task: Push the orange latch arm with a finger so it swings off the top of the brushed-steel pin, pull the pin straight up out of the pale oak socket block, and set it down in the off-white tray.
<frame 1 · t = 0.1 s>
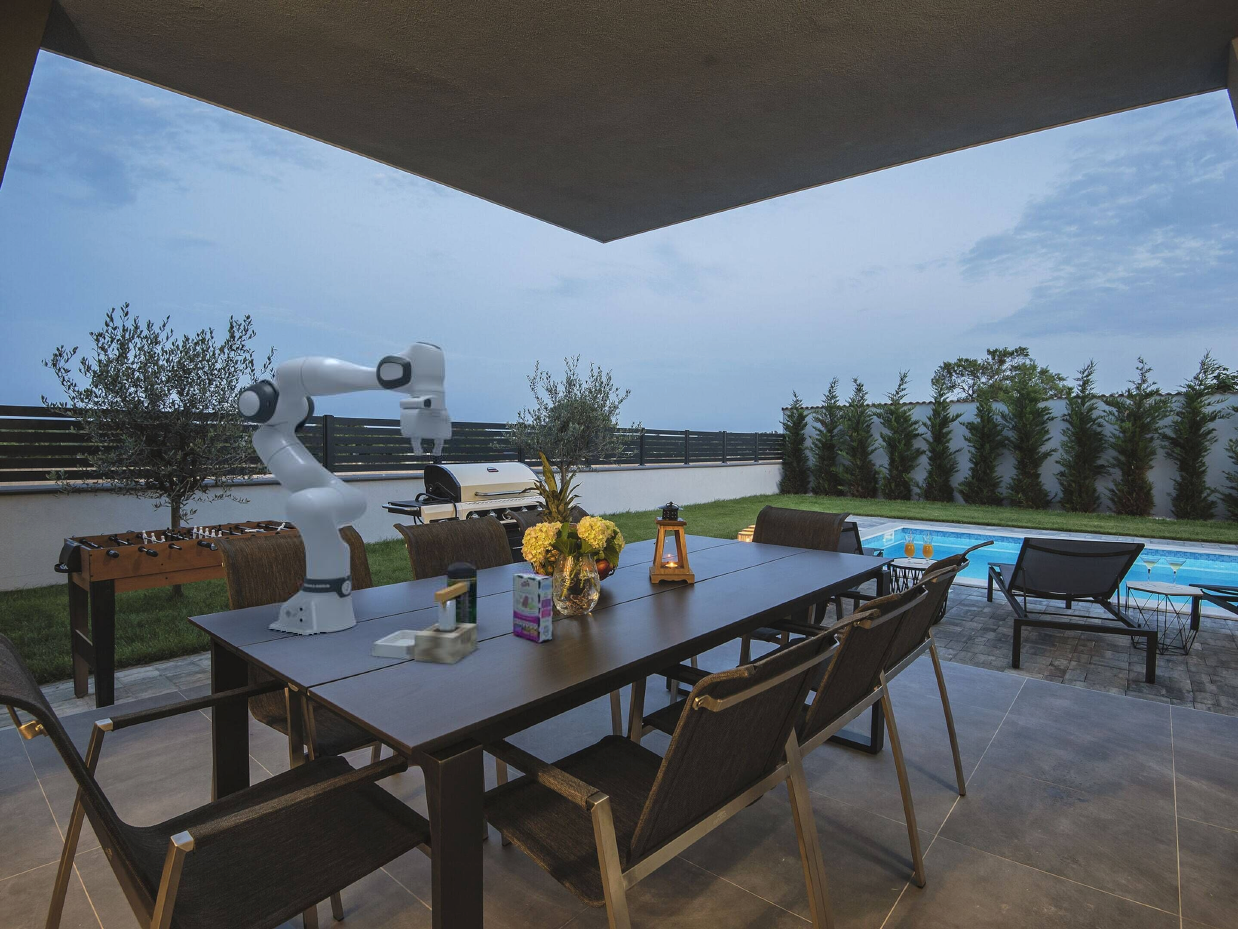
hand: (427, 455, 163), 48 cm above the table, tool pointing down, fingers open, 8 cm apart
latch arm: (453, 591, 150), point 14 cm above the table, hinge at 0.0°
candy bar box: (532, 638, 161), on the table
coffee jar: (461, 631, 167), on the table
steel pin: (446, 654, 147), resting in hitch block
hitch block: (446, 654, 147), on the table
tray: (405, 649, 150), on the table
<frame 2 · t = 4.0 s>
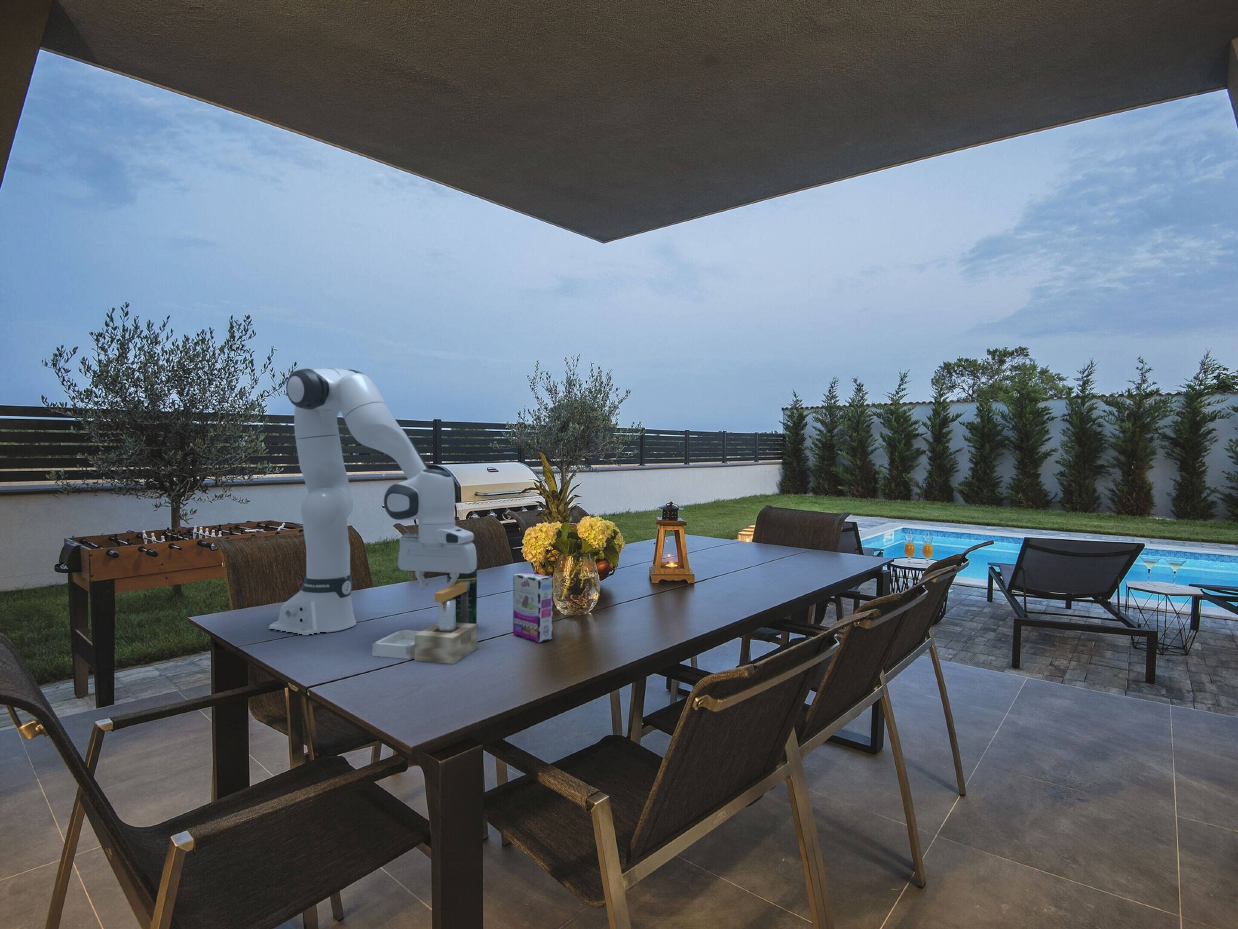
hand: (437, 589, 153), 14 cm above the table, tool pointing down, fingers open, 6 cm apart
latch arm: (453, 591, 150), point 15 cm above the table, hinge at 0.1°, touching gripper
everything else where it was.
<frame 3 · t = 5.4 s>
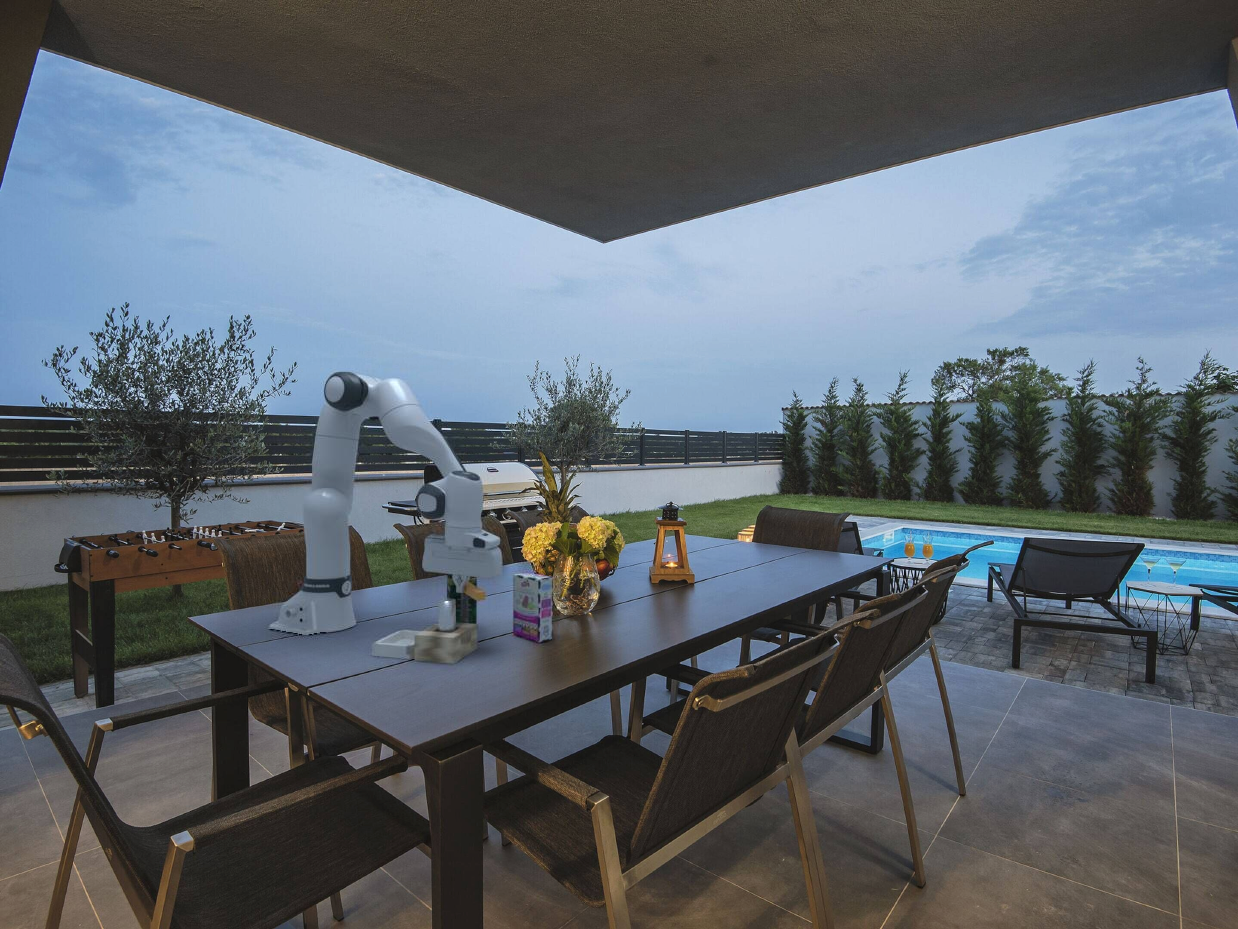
hand: (460, 592, 152), 14 cm above the table, tool pointing down, fingers closed, pressing on latch arm
latch arm: (471, 590, 151), point 15 cm above the table, hinge at 44.4°, touching gripper
everything else where it was.
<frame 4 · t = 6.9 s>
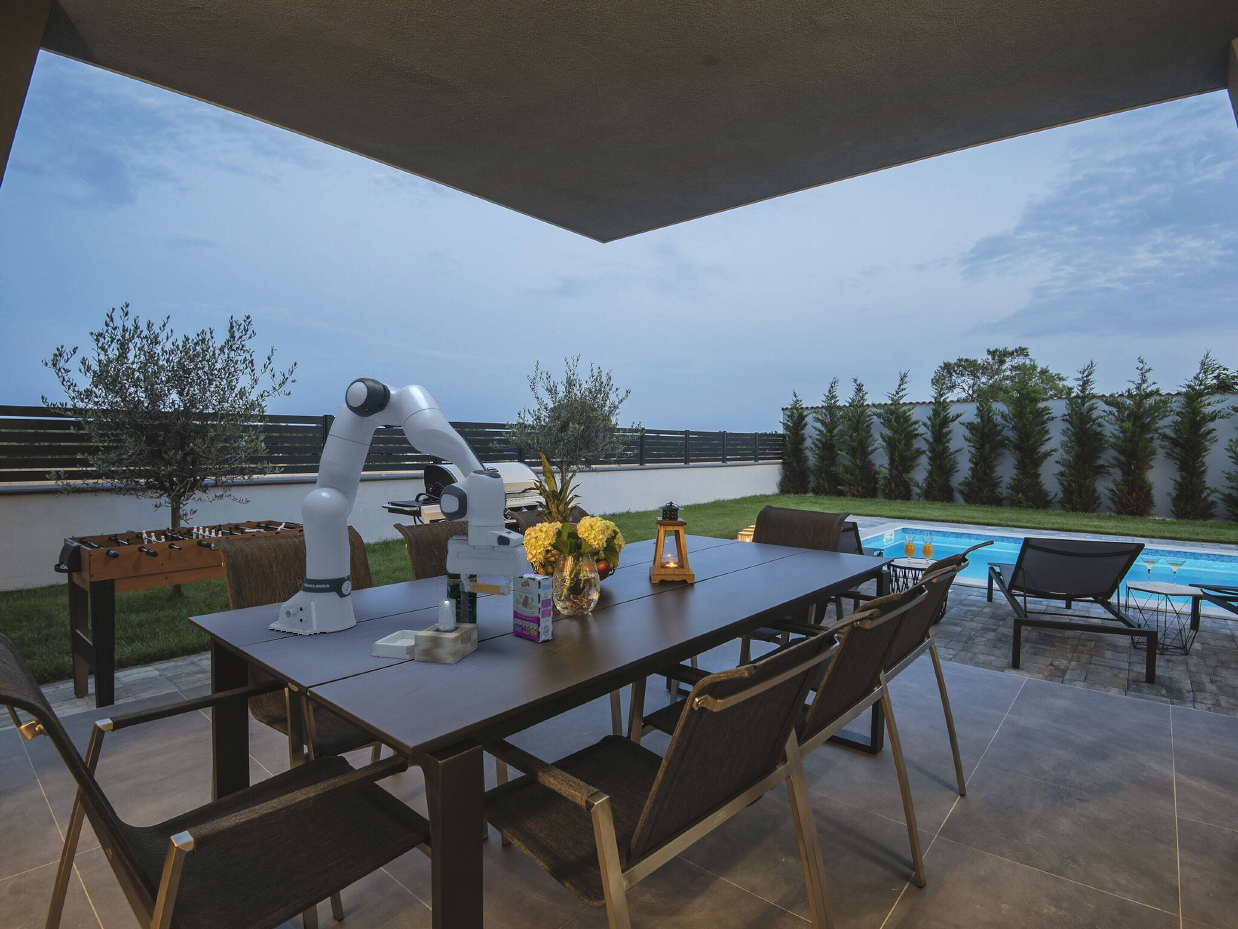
hand: (486, 592, 150), 14 cm above the table, tool pointing down, fingers open, 8 cm apart
latch arm: (483, 588, 153), point 14 cm above the table, hinge at 80.1°, touching gripper
everything else where it was.
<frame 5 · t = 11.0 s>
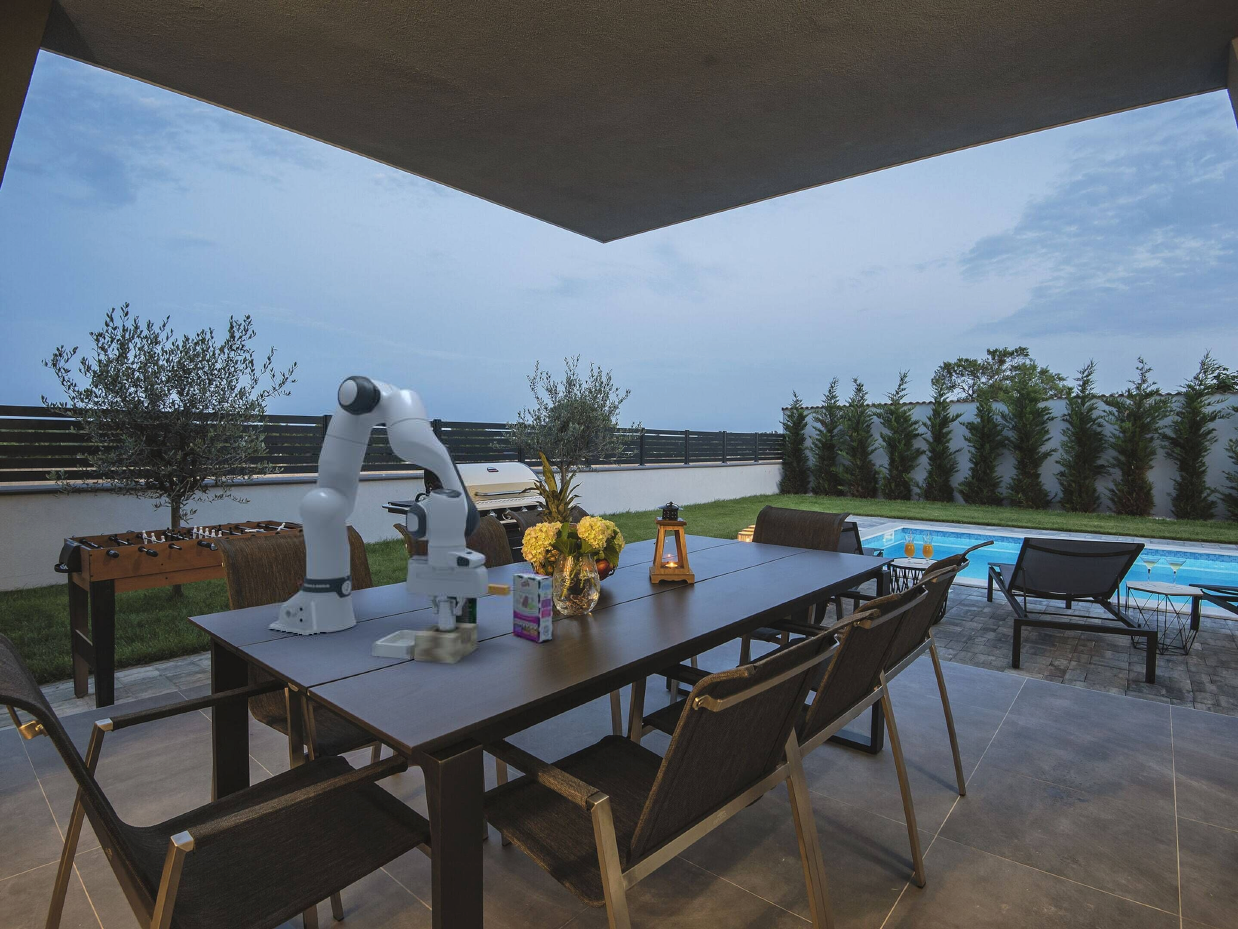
hand: (447, 614, 147), 10 cm above the table, tool pointing down, fingers closed on steel pin, 4 cm apart
latch arm: (483, 588, 153), point 15 cm above the table, hinge at 80.1°
steel pin: (446, 654, 147), resting in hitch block, touching gripper
everything else where it was.
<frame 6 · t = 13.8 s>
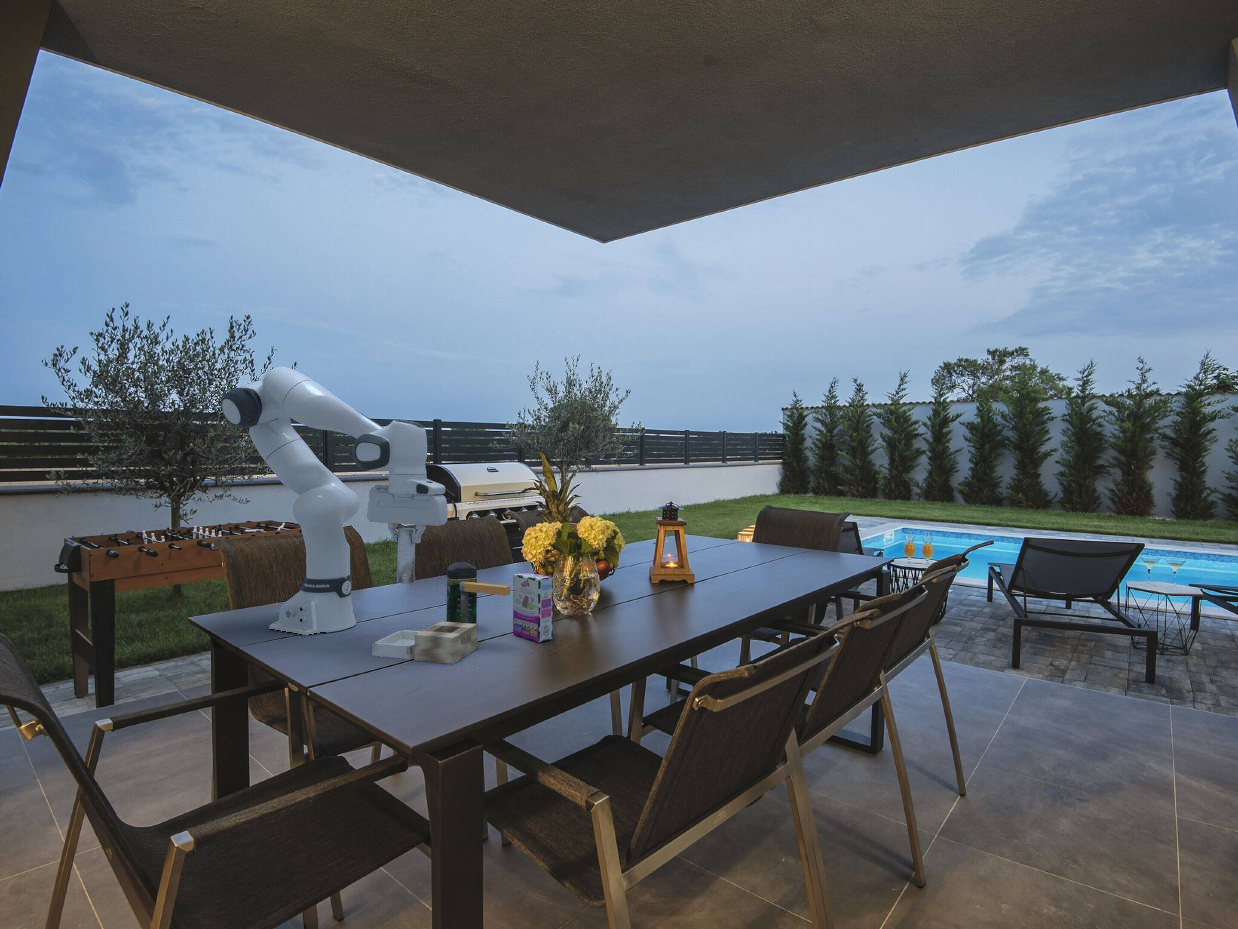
hand: (406, 542, 150), 26 cm above the table, tool pointing down, fingers closed on steel pin, 4 cm apart
steel pin: (405, 581, 150), point 17 cm above the table, touching gripper
everything else where it was.
when the fingers open (14 cm above the table, at t = 16.7 s): steel pin drops 3 cm, resting on tray.
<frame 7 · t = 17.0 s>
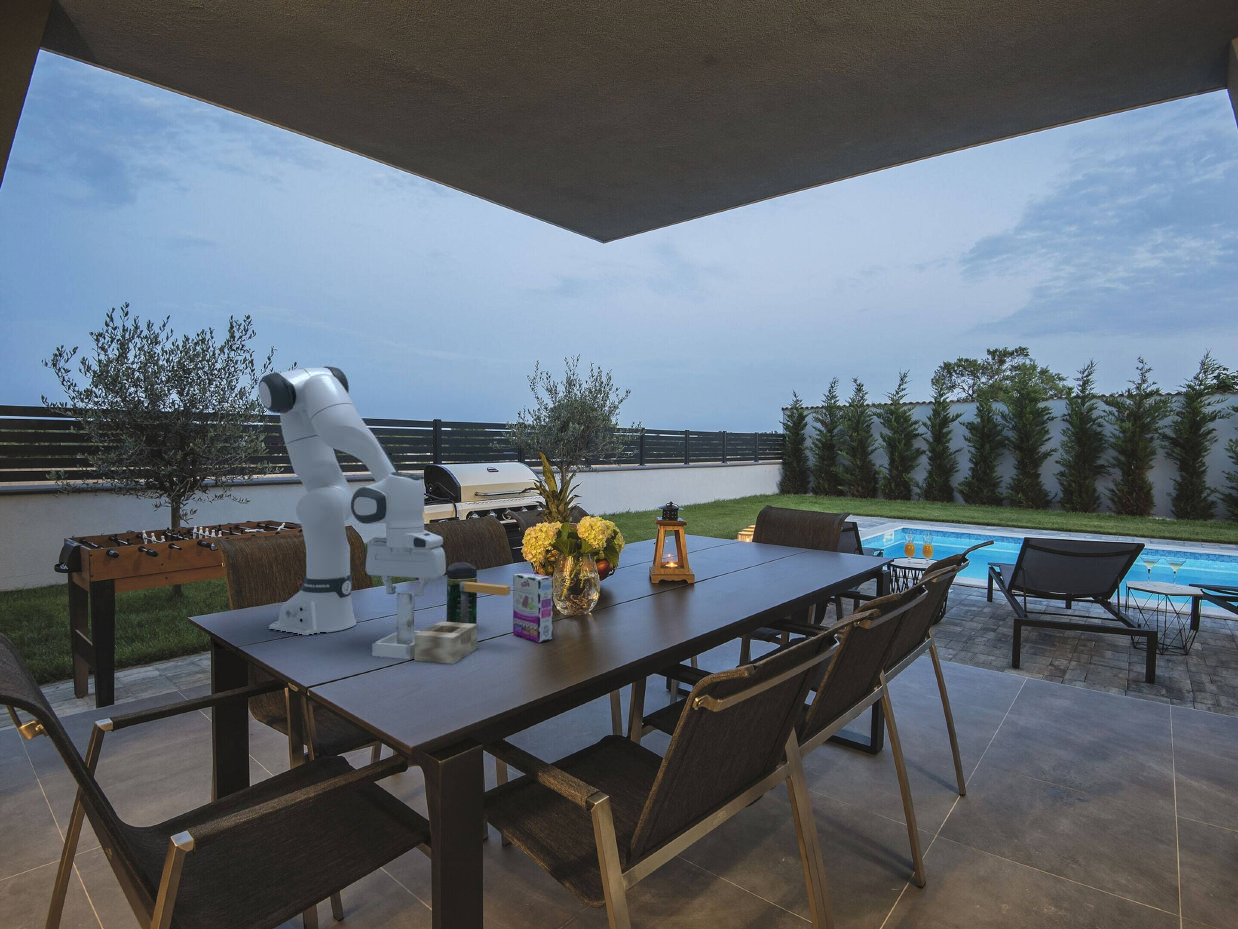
hand: (405, 594, 150), 14 cm above the table, tool pointing down, fingers open, 6 cm apart
steel pin: (405, 645, 150), point 1 cm above the table, touching tray
everything else where it was.
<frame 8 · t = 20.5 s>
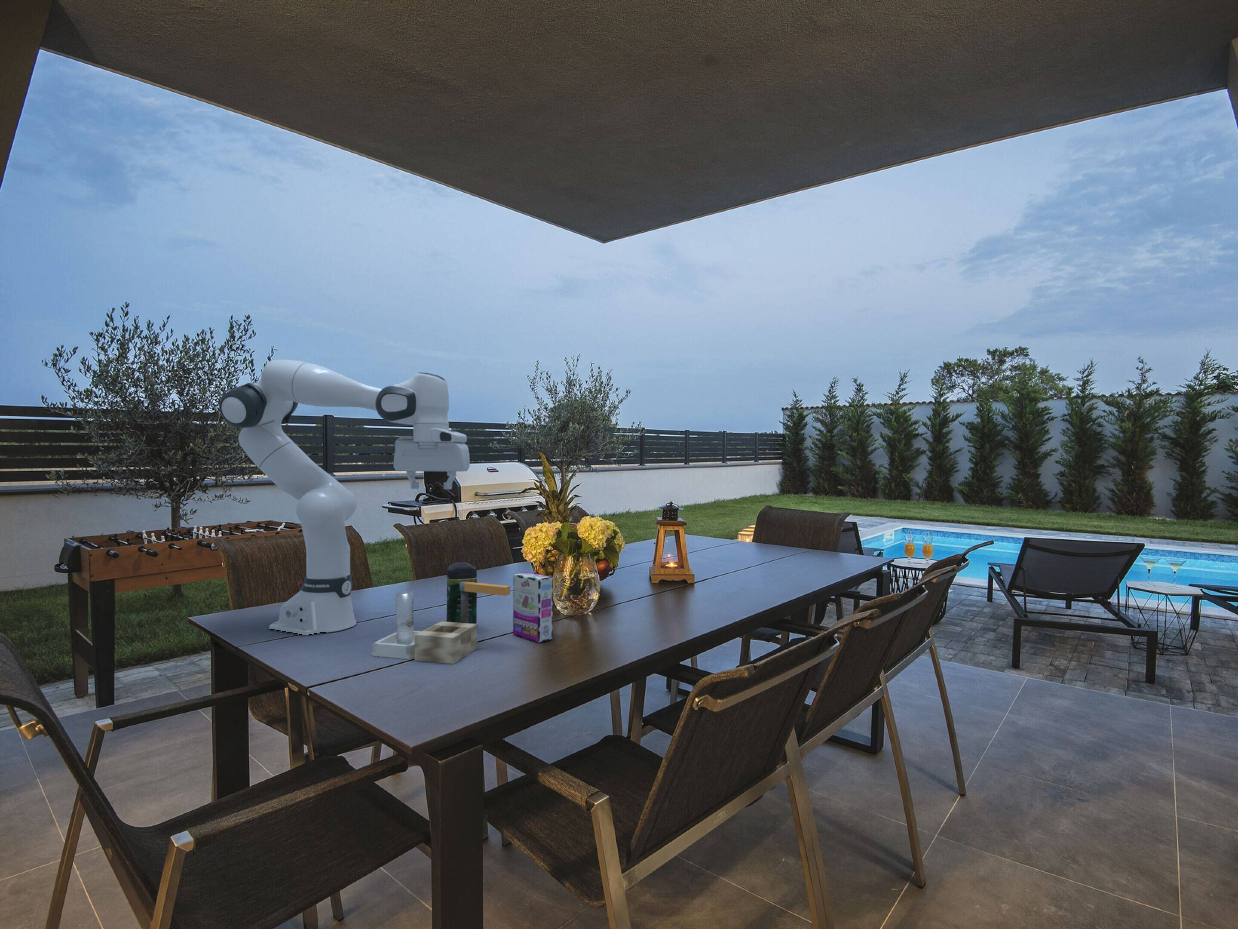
hand: (431, 489, 159), 39 cm above the table, tool pointing down, fingers open, 8 cm apart
nothing on the table moved.
at the end: steel pin inside the target area on the tray (0.1 cm from its centre), point 1.0 cm above the tray's base; latch arm at +80° (first picture: +0°); steel pin touching tray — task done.
